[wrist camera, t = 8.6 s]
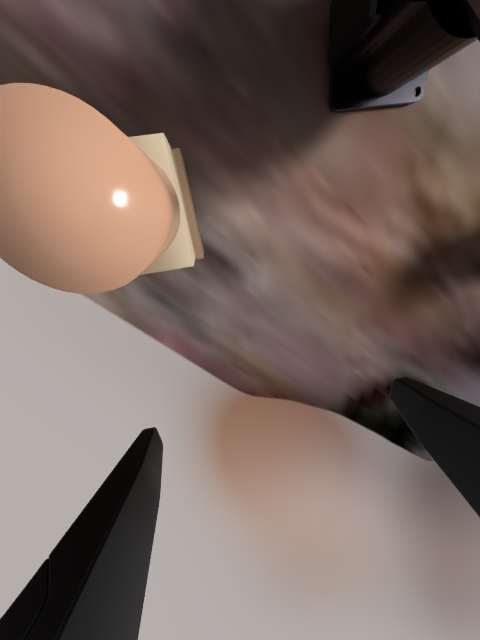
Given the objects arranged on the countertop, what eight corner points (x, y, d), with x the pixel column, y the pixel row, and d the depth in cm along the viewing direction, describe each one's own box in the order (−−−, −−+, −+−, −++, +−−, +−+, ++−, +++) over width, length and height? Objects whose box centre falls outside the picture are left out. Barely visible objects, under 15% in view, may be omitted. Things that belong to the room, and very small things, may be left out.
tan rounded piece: (166, 140, 9) (127, 74, 5) (189, 254, 11) (177, 282, 7) (50, 152, 9) (-108, 92, 4) (95, 266, 11) (19, 304, 7)
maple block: (173, 152, 12) (163, 132, 9) (195, 254, 15) (193, 266, 12) (70, 166, 12) (22, 150, 9) (110, 268, 14) (85, 283, 11)
